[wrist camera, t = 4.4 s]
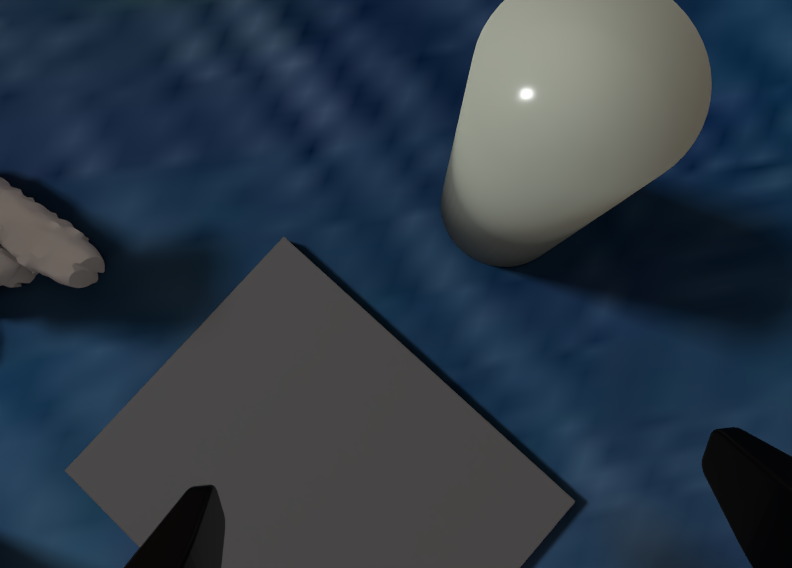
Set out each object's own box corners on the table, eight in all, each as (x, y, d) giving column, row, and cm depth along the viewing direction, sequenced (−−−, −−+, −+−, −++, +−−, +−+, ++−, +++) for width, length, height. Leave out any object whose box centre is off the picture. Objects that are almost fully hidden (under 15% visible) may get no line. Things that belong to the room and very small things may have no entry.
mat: (569, 495, 21) (575, 501, 21) (355, 749, 20) (353, 766, 20) (288, 240, 23) (283, 236, 22) (77, 465, 22) (64, 470, 21)
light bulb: (592, 200, 23) (760, 67, 12) (510, 293, 22) (607, 243, 12) (497, 120, 23) (575, -76, 12) (415, 209, 23) (421, 87, 12)
